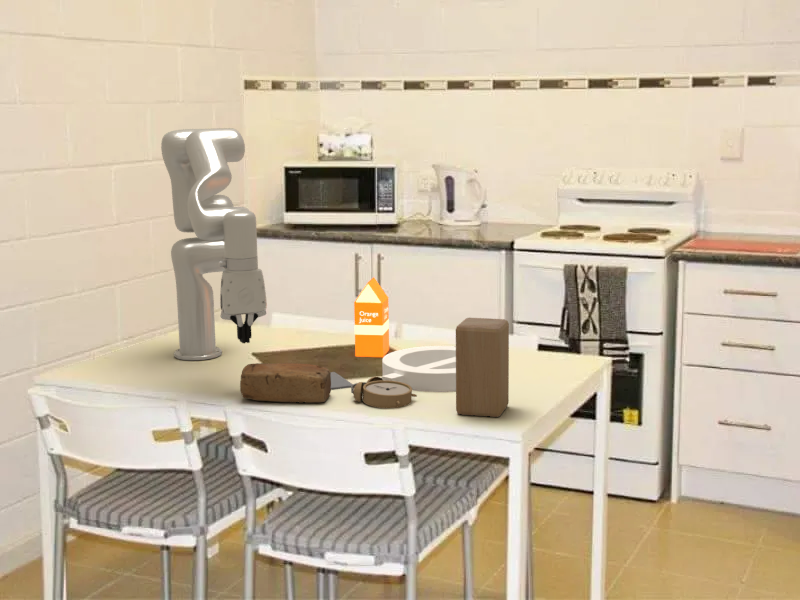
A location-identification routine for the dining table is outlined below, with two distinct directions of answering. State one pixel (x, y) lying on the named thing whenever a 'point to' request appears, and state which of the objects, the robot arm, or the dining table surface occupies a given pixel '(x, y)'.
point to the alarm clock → (383, 393)
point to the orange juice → (371, 321)
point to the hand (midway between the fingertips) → (244, 341)
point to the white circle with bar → (422, 368)
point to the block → (286, 382)
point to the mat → (339, 381)
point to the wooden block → (482, 366)
